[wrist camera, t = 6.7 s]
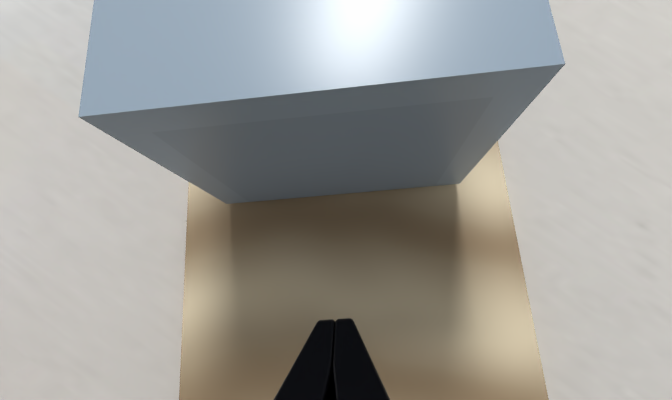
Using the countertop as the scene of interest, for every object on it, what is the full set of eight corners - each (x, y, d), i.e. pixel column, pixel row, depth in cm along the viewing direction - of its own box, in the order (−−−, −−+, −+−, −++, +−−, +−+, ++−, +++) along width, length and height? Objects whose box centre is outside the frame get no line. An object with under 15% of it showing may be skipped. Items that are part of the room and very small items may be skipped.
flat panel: (558, 522, 13) (683, 677, 8) (189, 528, 14) (84, 669, 9) (463, 19, 18) (500, -83, 13) (205, 50, 19) (147, -34, 14)
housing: (459, 183, 14) (565, 63, 7) (226, 203, 15) (78, 116, 7) (431, 5, 17) (485, -239, 9) (229, 30, 17) (117, -176, 10)
